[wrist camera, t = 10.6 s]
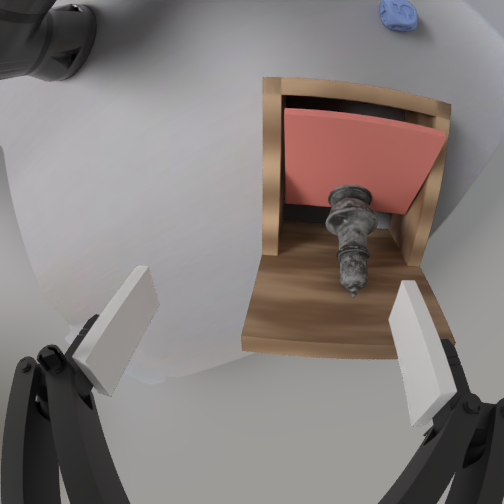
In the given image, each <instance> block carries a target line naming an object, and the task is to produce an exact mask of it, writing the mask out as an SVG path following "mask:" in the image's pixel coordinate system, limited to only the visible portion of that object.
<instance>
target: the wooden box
mask: <svg viewBox="0 0 504 504" xmlns="http://www.w3.org/2000/svg"><path fill="white" fill-rule="evenodd" d="M286 96H298V97H314V98H326V99H336V100H345V101H353V102H361V103H367V104H374V105H380V106H386V107H391V108H396V109H401V110H405V122H407V123H412V124H416V125H421V126H425V127H429V128H433V129H437V130H441V131H444V133H445V135H446V140H445V143H444V145H443V146H442V148H441V150H440V152H439V154H438V156H437V158H436V160H435V162H434V164H433V166H432V168H431V169H430V171H429V173H428V175H427V177H426V178H425V180H424V182H423V184H422V186H421V187H420V189H419V191H418V193H417V194H416V196H415V198H414V199H413V201H412V203H411V204H410V206H409V208H408V209H407V211H406V213H405V214H395V213H392V215H391V220H390V225H389V230H388V229H378V228H376V229H375V230H374V231H373V232H371V233H370V234H368V235H367V250H369V252H370V257H369V258H368V259H367V270H368V282H367V284H366V286H365V287H364V288H362V289H360V290H358V291H356V293H357V295H356V297H355V298H353V297H352V295H351V293H352V291H350V290H347V289H345V288H343V287H342V285H341V284H340V260H338V258H337V257H336V254H337V252H338V251H339V237H338V236H336V235H334V234H332V233H331V232H330V231H329V230H328V229H327V227H326V224H322V223H309V222H296V221H283V210H284V181H285V129H284V110H285V108H286ZM450 115H451V104H447V103H444V102H441V101H437V100H434V99H430V98H426V97H422V96H418V95H414V94H410V93H406V92H401V91H396V90H392V89H386V88H381V87H375V86H369V85H363V84H356V83H349V82H340V81H331V80H320V79H306V78H283V77H263V223H262V257H261V261H260V265H259V269H258V273H257V277H256V281H255V285H254V288H253V292H252V296H251V300H250V304H249V308H248V312H247V315H246V319H245V323H244V327H243V331H242V334H241V341H242V351H250V352H258V353H268V354H279V355H289V356H303V357H317V358H318V357H319V358H338V359H339V358H340V359H398V355H397V351H396V347H395V343H394V339H393V335H392V331H391V327H390V324H389V320H388V319H389V317H390V314H391V311H392V308H393V306H394V303H395V300H396V297H397V294H398V291H399V288H400V285H401V282H402V280H414V281H415V282H416V284H417V286H418V288H419V290H420V293H421V295H422V297H423V299H424V302H425V304H426V306H427V309H428V311H429V313H430V316H431V318H432V321H433V323H434V326H435V328H436V331H437V333H438V336H439V338H440V339H449V340H450V342H451V343H452V344H453V345H455V343H456V342H455V340H454V337H453V335H452V332H451V330H450V328H449V326H448V323H447V321H446V319H445V317H444V315H443V312H442V310H441V308H440V306H439V304H438V301H437V299H436V297H435V295H434V293H433V291H432V290H431V287H430V285H429V283H428V281H427V280H426V278H425V276H424V274H423V272H422V270H421V268H420V263H421V260H422V257H423V254H424V251H425V247H426V244H427V240H428V237H429V233H430V230H431V226H432V222H433V218H434V214H435V210H436V205H437V201H438V196H439V192H440V187H441V181H442V176H443V170H444V164H445V158H446V151H447V144H448V135H449V126H450Z"/></svg>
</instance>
